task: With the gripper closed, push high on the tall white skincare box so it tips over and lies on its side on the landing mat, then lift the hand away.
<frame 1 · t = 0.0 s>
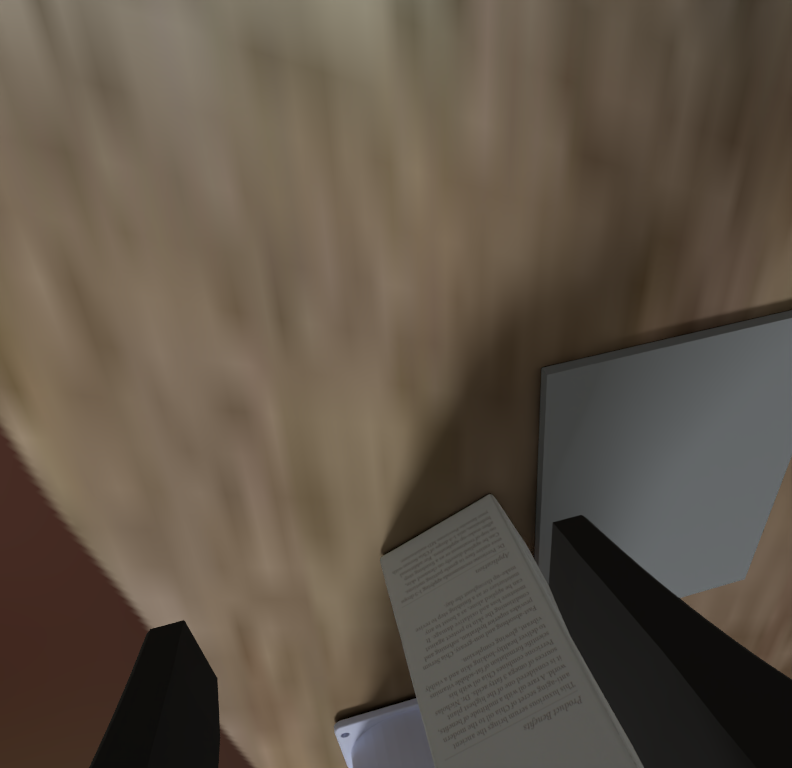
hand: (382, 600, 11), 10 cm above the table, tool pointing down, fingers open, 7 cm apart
skincare box: (453, 542, 27), on the table
landing mat: (661, 491, 28), on the table
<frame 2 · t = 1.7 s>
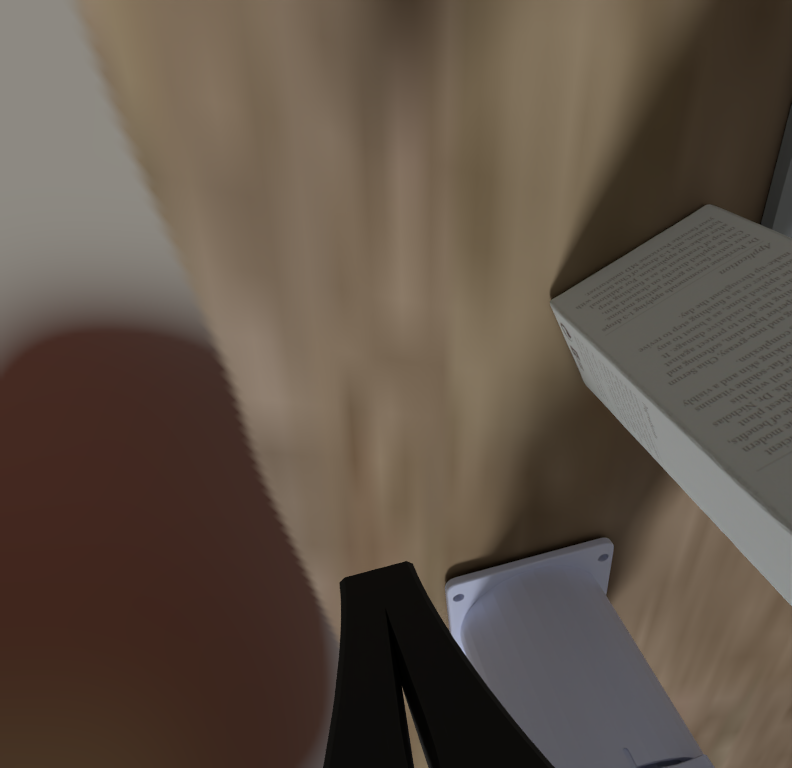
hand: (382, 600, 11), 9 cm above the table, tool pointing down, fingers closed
skincare box: (639, 295, 20), on the table
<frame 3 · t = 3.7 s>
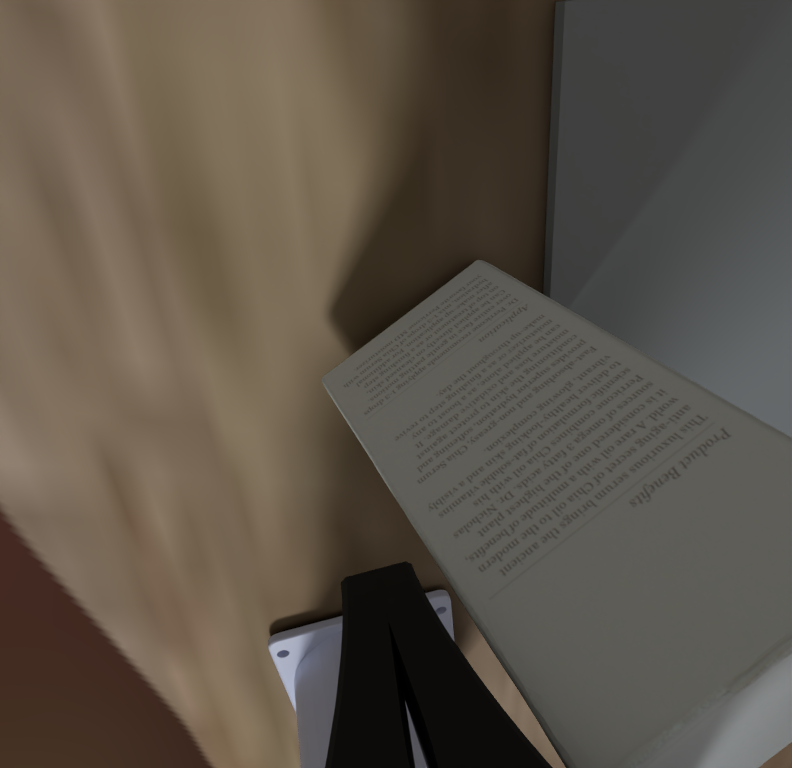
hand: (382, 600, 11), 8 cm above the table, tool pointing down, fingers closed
skincare box: (428, 358, 18), on the table, touching gripper
landing mat: (719, 289, 20), on the table
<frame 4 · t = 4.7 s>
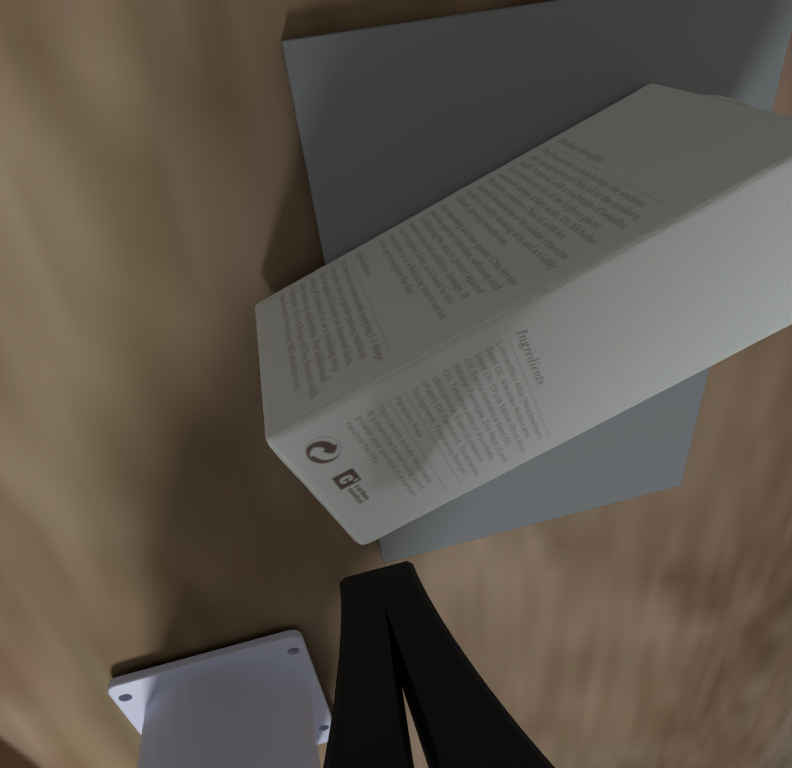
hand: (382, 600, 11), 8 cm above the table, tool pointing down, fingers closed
skincare box: (294, 421, 15), point 3 cm above the table, touching landing mat
landing mat: (539, 327, 19), on the table
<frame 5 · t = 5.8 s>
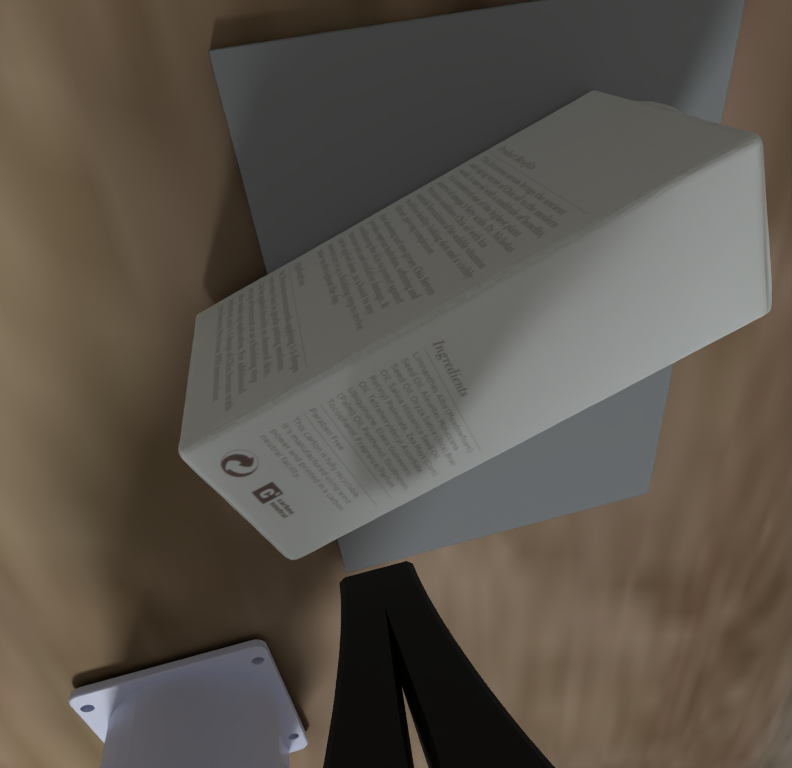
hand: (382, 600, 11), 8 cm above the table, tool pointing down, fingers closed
skincare box: (230, 433, 14), point 3 cm above the table, touching landing mat
landing mat: (494, 336, 19), on the table
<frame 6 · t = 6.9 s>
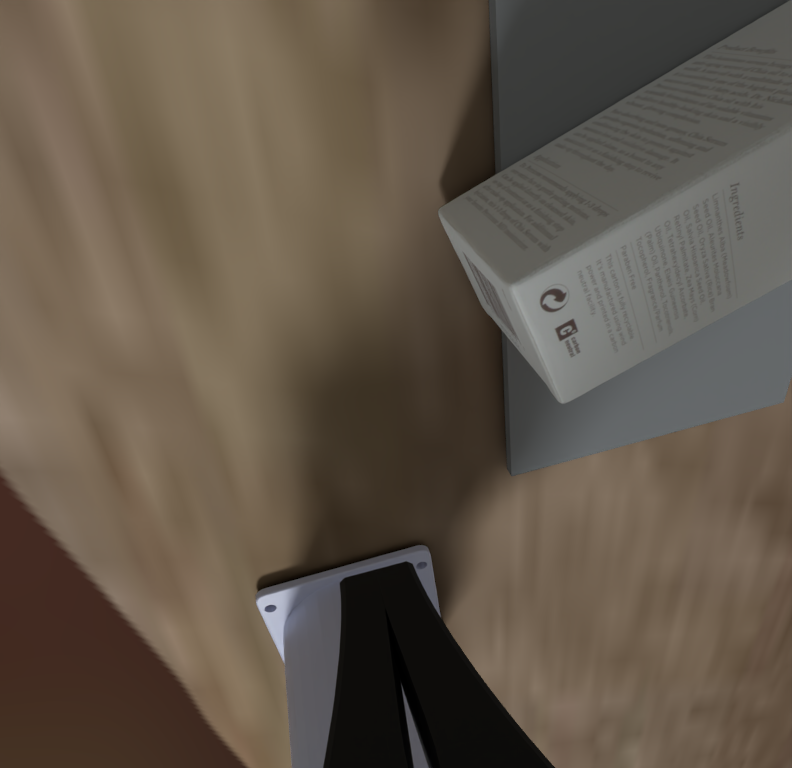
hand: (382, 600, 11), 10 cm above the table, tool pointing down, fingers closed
skincare box: (484, 305, 16), point 3 cm above the table, touching landing mat
landing mat: (672, 239, 21), on the table
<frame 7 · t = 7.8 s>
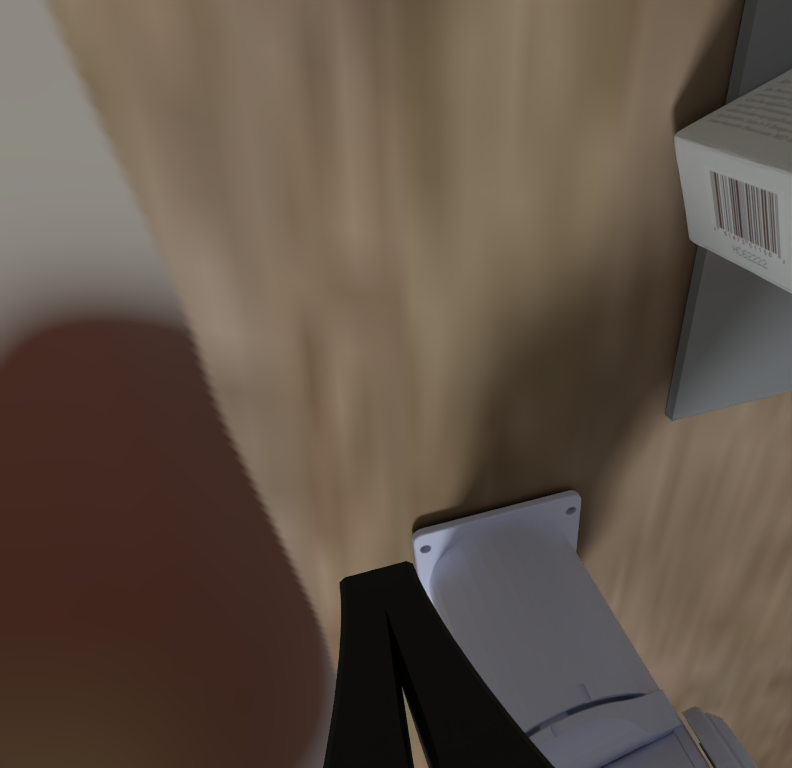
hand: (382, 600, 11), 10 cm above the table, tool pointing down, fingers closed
skincare box: (733, 223, 17), point 3 cm above the table, touching landing mat
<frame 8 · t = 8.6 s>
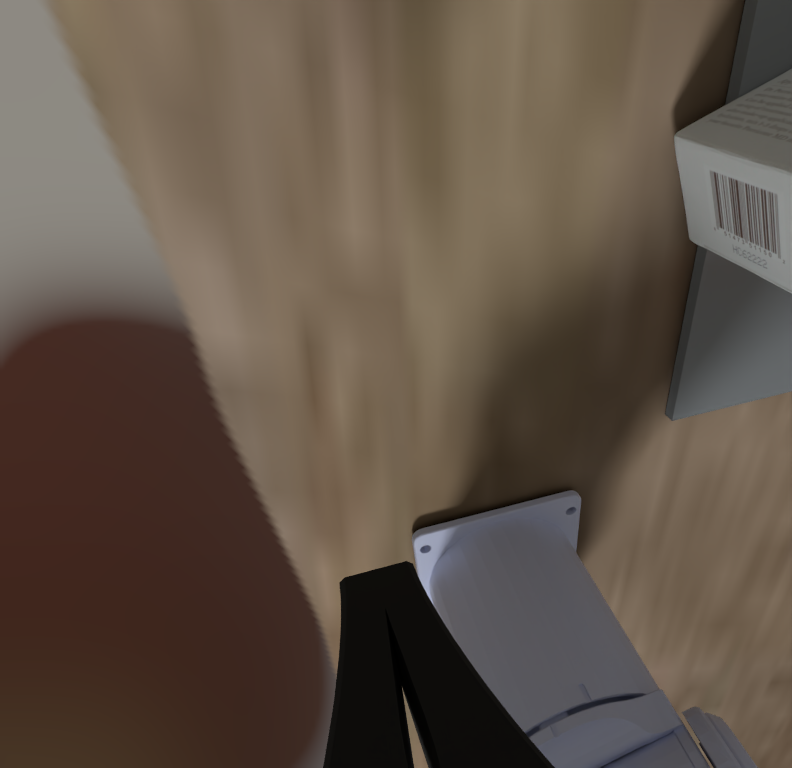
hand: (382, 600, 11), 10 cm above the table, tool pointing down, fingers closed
skincare box: (733, 223, 17), point 3 cm above the table, touching landing mat
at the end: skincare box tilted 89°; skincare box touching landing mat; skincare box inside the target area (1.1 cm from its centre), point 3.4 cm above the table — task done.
